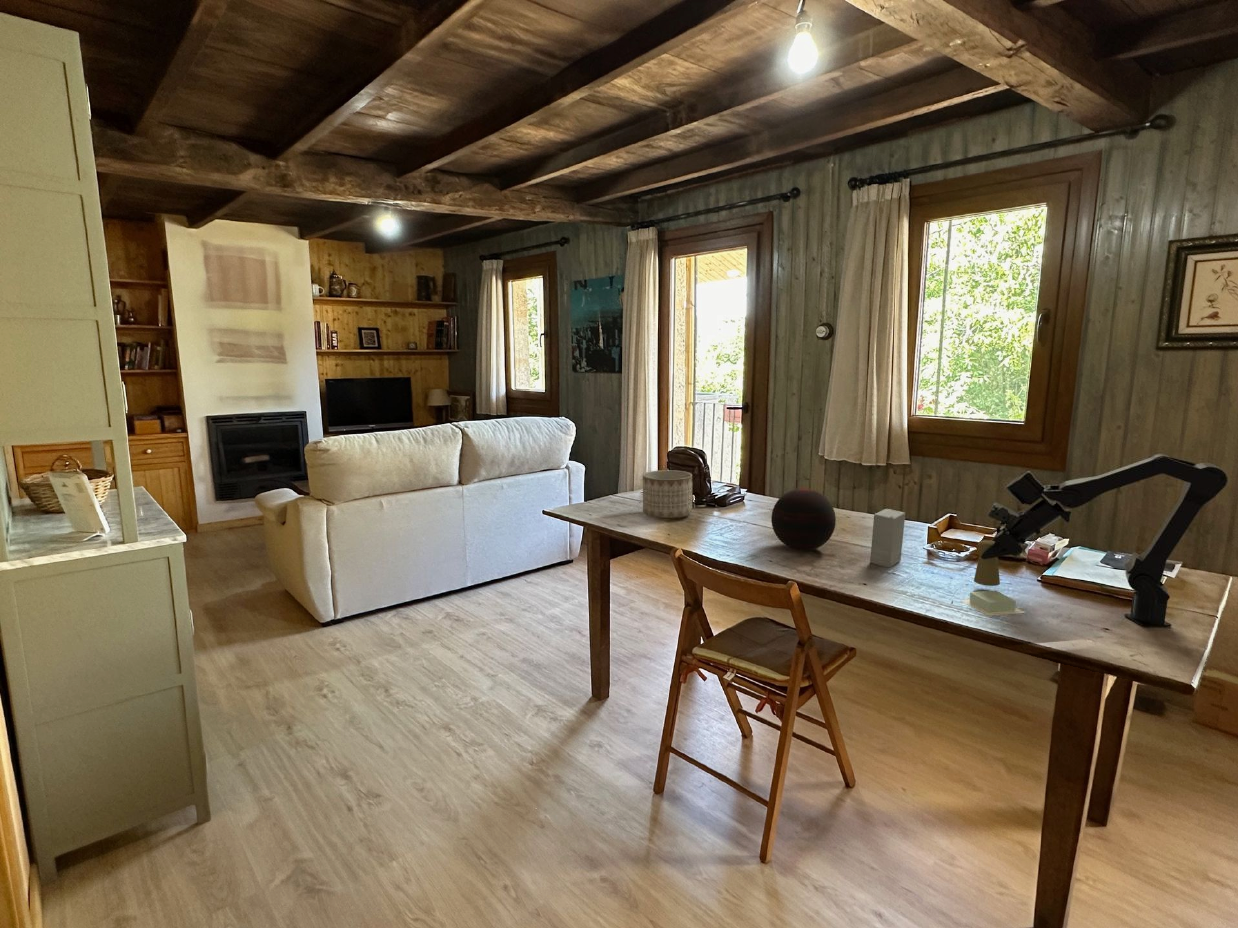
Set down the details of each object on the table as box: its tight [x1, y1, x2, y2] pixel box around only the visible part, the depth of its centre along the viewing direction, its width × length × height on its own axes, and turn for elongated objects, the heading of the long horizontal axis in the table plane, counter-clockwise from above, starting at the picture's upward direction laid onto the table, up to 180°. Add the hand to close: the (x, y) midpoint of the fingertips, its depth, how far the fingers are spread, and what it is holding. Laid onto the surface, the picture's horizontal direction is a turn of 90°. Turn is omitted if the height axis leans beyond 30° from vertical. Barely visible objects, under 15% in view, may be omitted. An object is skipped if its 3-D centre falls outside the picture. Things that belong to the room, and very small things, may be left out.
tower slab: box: [960, 598, 1026, 616], centre depth 164 cm, size 10×10×2 cm
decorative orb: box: [770, 488, 837, 552], centre depth 214 cm, size 20×20×20 cm
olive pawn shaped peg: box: [973, 539, 1001, 587], centre depth 173 cm, size 6×6×11 cm
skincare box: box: [869, 508, 906, 568], centre depth 200 cm, size 8×7×16 cm
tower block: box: [969, 590, 1017, 613], centre depth 163 cm, size 7×7×2 cm
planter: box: [642, 469, 693, 520], centre depth 261 cm, size 19×19×16 cm
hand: (982, 554), depth 173 cm, fingers closed on olive pawn shaped peg, 5 cm apart
